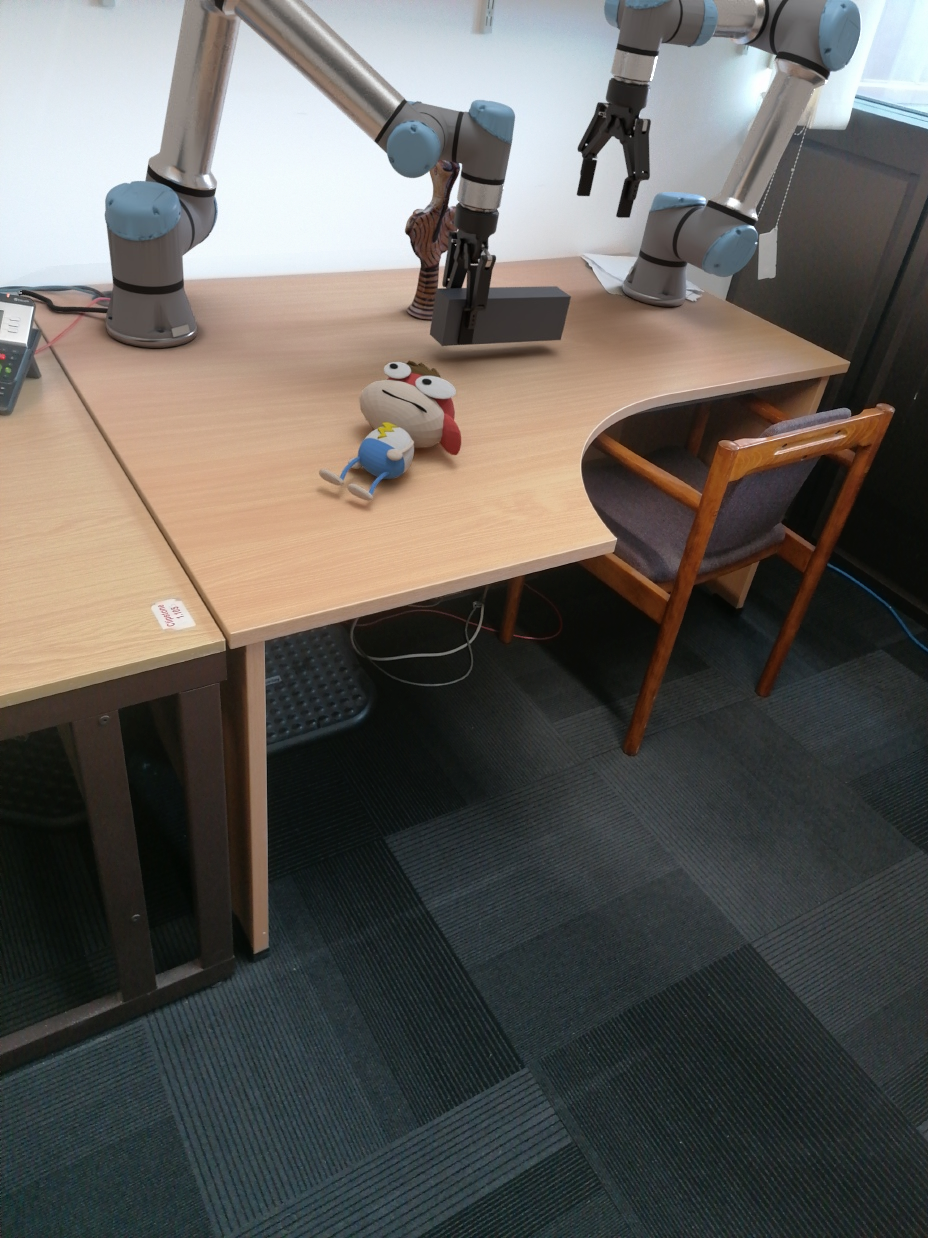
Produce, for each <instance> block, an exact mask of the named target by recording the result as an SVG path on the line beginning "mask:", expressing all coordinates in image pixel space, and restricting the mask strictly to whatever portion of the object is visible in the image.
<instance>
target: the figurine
mask: <svg viewBox="0 0 928 1238" xmlns="http://www.w3.org/2000/svg"><path fill="white" fill-rule="evenodd" d="M460 172H461V165H460V163H454V162H450V161H445V160H440V159H438V162H437V164H436V166H435V167H434V168H433V169H431V170H430V171H429V176H430V179H431V182H432V196H431V197H432V199H431V200H430V202H429V204H427V205H426V206H425V208H416V209H414V210H413V212H412V214H410V216H409V218H408V219H407V221H406V223H405V224H406V225H405V228H404V233H405V235H407V236H408V237H409V242H410V247H411V248H412V251H413V253H414V254H415V255H414V256H416V257H417V258H418V259H419V262H420V269H419V273H418V278H417V279H418V280H417V285H416V291H415V294H414V297H413V299H412V302H411V303H410V305H409V306H408V307H407V308H406V311H407V314H409V315H411V316H413V317H416V318H418V319H421V320H422V319H423V320H432V315H433V308H434V301H435V294H436V288H439V277H440V262H441V258H442V255H443V254H444V253H447V250H448V233H449V231H458V229H457V228H456V227H455V226H454V216H455V209H456V205H451V206H449V203H450V198H451V194H452V191H453V188H454V185H455V183H456V181H457V179H458V178H459V176H460Z"/></svg>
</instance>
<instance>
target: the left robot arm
mask: <svg viewBox="0 0 928 1238" xmlns="http://www.w3.org/2000/svg"><path fill="white" fill-rule="evenodd" d="M242 22H244V24H246V25H247V26H248V27H249V28H250V29H251V30H252V31H253V32H255V34H257V35H258V37H260V38H261V39H262V41H264V42H265V43H266V44H268V46H269V47H270V48H272V49H273V50H274V52H276V53H277V54H278V55H279V56H280V57H282V58H283V59H284V60H285V61H286V62H287V63H288V64H289V65H290V66H291V67H292V68H293V69H295V71H297V72H298V73H299V74H300V75H301V76H302V77H303V78H304V79H306V80H307V82H309V83H310V84H311V85H312V86H313V87H314V88H315V89H316V90H317V91H319V92H320V93H321V94H322V95H323V96H324V97H325V98H326V99H327V100H328V101H329V102H331V103H332V104H333V106H335V107H336V108H337V109H338V110H339V111H341V113H342V114H343V115H345V117H347V118H348V119H349V120H350V121H351V122H352V123H353V124H354V125H355V126H356V127H358V128H359V129H360V130H361V131H362V132H363V133H364V134H365V135H366V136H367V137H369V138H370V140H372V141H373V142H374V143H375V144H376V145H377V146H378V147H379V148H380V149H381V150H382V151H383V152H384V153H385V154H386V156H387V159H388V162H389V164H390V166H391V167H392V169H393V170H394V171H395V172H396V173H397V174H398V175H400V176H402V177H404V178H407V179H416V178H420V177H423V176H424V175H426V174H428V173H430V170H431V169H433V168H434V167H435V166H436V164H437V162H438V159H440V160H445V161H450V162H454V163H459V164H461V169H460V174H459V183H458V189H457V194H456V195H457V196H456V200H457V203H456V204H455V206H456V209H455V216H454V226H455V227H456V228H457V229H458V230H457V231H449V233H448V250H447V251H446V257H445V264H444V269H443V276H442V281H441V286H442V288H463V286H464V282H465V280H466V286H465V288H466V307H462V309H463V310H462V317H461V323H460V329H459V335H458V341H457V343H458V344H459V345H458V346H463V345H462V344H472V340H473V334H474V328H475V325H476V319H477V314H478V311H485V310H486V307H487V301H488V294H489V288H490V287H491V281H492V276H493V269H494V267H495V265H496V262H497V256H496V255H495V254H491V253H490V252H489V238H490V237H491V236H492V235H494V234H496V232H497V229H498V221H499V217H500V211H499V210H498V209H499V208H500V207H501V204H502V198H503V192H504V189H505V188H504V186H505V181H506V177H507V170H508V166H509V161H510V156H511V150H512V144H513V137H514V129H515V121H516V114H515V112H514V109H513V108H512V107H510V105H507V104H504V103H501V102H497V101H493V100H485V99H477V100H476V99H475V100H473V101H472V102H471V103H470V107H469V109H468V111H461V110H455V109H451V108H446V107H442V106H438V105H433V104H428V103H424V102H422V101H418V100H416V101H413V100H407V99H406V97H404V96H403V95H402V94H401V93H400V92H399V91H398V90H397V89H396V88H395V87H394V86H393V85H392V84H390V82H389V81H387V80H386V79H385V77H383V76H382V75H381V74H380V73H379V72H378V71H377V70H376V69H375V68H374V67H373V66H372V65H371V64H370V63H369V62H368V61H367V60H366V59H364V58H363V56H362V55H360V53H358V51H356V50H355V49H354V48H353V47H352V46H351V45H350V44H349V43H348V42H347V41H346V40H345V39H344V38H343V37H341V35H340V34H339V33H337V32H336V31H335V30H334V29H333V28H332V27H331V26H330V25H329V24H328V23H327V22H326V21H325V20H324V19H323V18H321V16H320V15H318V13H316V11H314V9H312V8H311V7H310V6H309V5H308V4H307V3H306V2H305V1H304V0H184V4H183V12H182V17H181V23H180V28H179V35H178V40H177V46H176V53H175V59H174V64H173V70H172V75H171V82H170V87H169V93H168V101H167V106H166V113H165V118H164V124H163V130H162V136H161V143H160V149H159V152H158V153H157V154H154V155H153V156H150V157H149V159H148V161H147V168H146V174H145V180H134V181H130V183H129V182H123V183H120V184H117V185H115V186H113V187H112V188H111V189H110V190H109V191H108V192H107V193H106V195H105V199H104V204H105V205H104V208H105V209H104V210H105V211H104V221H105V224H106V233H107V241H108V250H109V259H110V268H111V277H112V291H111V295H110V300H109V303H108V307H94V306H93V307H91V306H60V305H55V304H54V301H52V299H51V298H49V297H46V296H44V295H43V294H40V293H37V292H35V291H31V290H29V289H28V290H27V289H21V290H22V291H20V292H22V294H19V296H28V297H31V298H34V299H35V300H38V301H41V302H43V303H45V304H47V307H48V308H49V310H52V311H55V312H58V313H59V312H61V313H91V314H92V313H95V314H106V315H105V326H106V328H105V329H106V332H107V334H108V335H109V336H110V337H111V338H112V339H114V340H116V341H117V342H120V343H123V344H126V345H130V346H133V347H140V348H152V349H157V348H160V349H163V348H171V347H177V346H182V345H184V344H187V343H189V342H191V341H193V340H194V339H195V338H196V337H197V335H198V324H197V320H196V317H195V315H194V311H193V309H192V306H191V304H190V300H189V298H188V296H187V293H186V290H185V278H184V276H185V275H184V260H183V259H184V258H183V257H184V256H185V255H186V254H187V253H188V252H190V251H191V250H193V249H194V248H196V246H198V245H199V244H201V243H203V242H204V241H205V240H206V239H208V238H209V236H210V235H211V233H212V231H213V230H214V227H215V226H216V223H217V220H218V215H219V213H218V212H219V209H218V208H219V206H218V201H217V198H216V191H217V186H218V180H217V179H216V177H215V175H214V173H213V172H212V166H213V161H214V156H215V150H216V147H217V146H216V145H217V141H218V136H219V131H220V126H221V122H222V116H223V112H224V107H225V102H226V97H227V92H228V86H229V81H230V77H231V72H232V68H233V63H234V58H235V53H236V47H237V42H238V37H239V33H240V28H241V23H242Z"/></svg>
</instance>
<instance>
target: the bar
mask: <svg viewBox="0 0 928 1238" xmlns="http://www.w3.org/2000/svg"><path fill="white" fill-rule="evenodd" d="M571 299H572V296H571V295H570V294H568V293H567V292H565V291H564V290H563V289H561V288H560V287H558V286H556V285H553V286H551V285H550V286H502V287H501V286H499V287H498V286H496V287H494V286H493V287H491V286H490V288H489V294H488V301H487V307H486V310H485V311H478V314H477V319H476V325H475V328H474V334H473V340H472V344H462V345H461V346H470V345H490V344H511V343H529V342H532V343H533V342H545V341H546V342H548V341H549V342H550V341H551V342H552V341H561V340H562V337H563V331H564V328H565V324H566V319H567V315H568V311H569V307H570V302H571ZM462 307H466V287H462V288H446V287H441V288H439V287H438V288H436V294H435V301H434V308H433V315H432V319H431V322H430V323H431V324H430V329H429V330H430V331H429V335H430V337H432V338H433V339H434V340H435V341H436V342H437V343H438V344H440V346H441V347H449V346H453V347H454V346H460V345H459V344H458V343H457V341H458V335H459V329H460V323H461V317H462V310H463V309H462Z"/></svg>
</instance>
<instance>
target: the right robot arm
mask: <svg viewBox="0 0 928 1238" xmlns="http://www.w3.org/2000/svg"><path fill="white" fill-rule="evenodd" d="M603 13H604V18H605V20H606V22H607V23H608V24H609V25H610V26H611V27H614V28H616V29H618V30H619V33H618V39H617V43H616V48H615V51H614V56H613V60H612V65H611V70H610V74H611V75H612V77H611V78H610V79H609V80H608V83H607V89H606V95H605V101H606V102H599V101H598V102H597V103H596V106H595V110H594V113H593V116H592V118H591V120H590V122H589V124H588V126H587V128H586V130H585V132H584V134H583V136H582V138H581V140H580V142H579V144H578V145H577V152H578V153H580V154H581V157H582V161H581V167H580V172H579V174H580V176H579V181H578V187H577V189H576V190H577V191H576V196H578V197H590V196H591V191H592V186H593V182H594V178H595V174H596V168H597V165H598V160H597V159H598V154H599V153H600V152H601V151H602V149H603V148H604V147H605V146H606V145H607V143H608V142H609V141H610V139H612V137H614V139H616V140H618V141H619V144H620V145H621V146H622V150H623V157H624V161H625V167H626V173H627V177H626V178H624V181H623V184H622V188H621V189H622V190H621V193H620V198H619V201H618V206H617V210H616V214H615V216H616V218H619V219H622V218H623V219H624V218H625V219H626V218H627V219H628V218H629V219H630V218H631V215H632V211H633V210H632V209H633V206H634V202H635V200H636V198H637V195H638V192H639V187H640V183H641V182H642V181H649V180H650V177H651V163H650V162H651V161H650V159H651V158H650V131H651V124H652V121H651V120H652V119H650V118H642V117H641V111H642V110H643V109H645V108H646V107H647V105H648V100H649V97H650V93H651V87H650V84H649V83H651V82H652V81H653V79H654V74H655V69H656V65H657V60H658V57H659V54H660V49H661V46H662V44H666V45H667V44H668V45H675V46H684V47H687V48H692V47H702V46H703V45H705V44H707V43H708V42H710V40H711V38H725V39H729V40H731V42H733V43H734V44H736V45H742V46H749V47H751V48H755V49H758V50H761V51H763V52H765V53H768V54H771V55H773V56H775V57H774V59H773V66H774V69H775V74H774V77H773V79H772V81H771V83H770V85H769V87H768V90H767V92H766V93H765V95H764V98H763V100H762V102H761V104H760V107H759V109H758V110H757V113H756V115H755V116H754V119H753V121H752V124H751V125H750V128H749V129H748V132H747V134H746V136H745V138H744V140H743V143H741V146H740V149H739V150H738V152H737V155H736V157H735V159H734V161H733V164H732V166H731V168H730V170H729V172H728V173H727V176H726V178H725V180H724V182H723V184H722V186H721V188H720V191H719V192H718V193H717V194H716V195H713V196H711V197H710V198H708V199H707V200H706V198H705V196H703V195H701V194H700V195H699V194H694V193H689V192H679V191H662V192H659V193H657V194H656V195H655V196H654V197H653V200H652V203H651V205H650V208H649V210H648V215H647V219H646V223H645V227H644V231H643V236H642V240H641V244H640V249H639V252H638V256H637V258H636V260H635V261H634V263H633V265H632V266H631V267H630V269H629V270H628V274H627V275H626V277H625V278H624V279H623V284H622V288H621V290H622V291H623V293H624V294H625V295H626V296H628V297H630V298H631V299H633V300H635V301H638V302H641V303H644V304H647V305H651V306H658V307H666V308H669V307H670V308H673V307H679V306H682V305H684V304H685V301H686V297H687V267H688V264H689V265H691V266H693V267H696V268H697V269H700V270H702V271H703V272H705V273H707V274H708V275H713V276H716V277H718V278H728V277H731V276H733V275H735V274H736V273H738V272H740V271H741V270H742V269H743V268H744V267H745V266H746V265H747V264H748V263H749V262H750V260H751V259H752V257H753V256H754V254H755V252H756V249H757V247H758V242H757V241H758V240H759V233H758V231H757V230H756V228H755V227H756V225H757V223H758V221H759V218H758V214H757V206H758V205H759V204H760V201H761V199H762V197H763V195H764V193H765V192H766V189H767V187H768V185H769V183H770V181H771V179H772V176H773V175H774V172H775V171H776V169H777V167H778V164H779V163H780V160H781V158H782V157H783V154H784V152H785V150H786V148H787V147H788V145H789V142H790V140H791V139H792V137H793V135H794V132H795V130H796V128H797V126H798V124H799V122H800V120H801V118H802V116H803V114H804V112H805V110H806V108H807V106H808V104H809V102H810V100H811V98H812V96H813V94H814V92H815V91H816V90H817V89H818V88H820V87H822V86H824V85H826V84H827V82H828V80H829V79H830V77H831V75H832V73H835V72H838V71H839V72H840V71H841V70H842V69H845V68H846V66H847V65H848V64H849V63H851V61H852V59H853V57H854V56H855V54H856V52H857V49H858V47H859V43H860V40H861V34H862V27H863V26H862V14H861V10H860V8H859V7H858V5H857V4H856V3H855V2H854V1H853V0H605V1H604V5H603ZM706 201H707V202H706Z"/></svg>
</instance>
